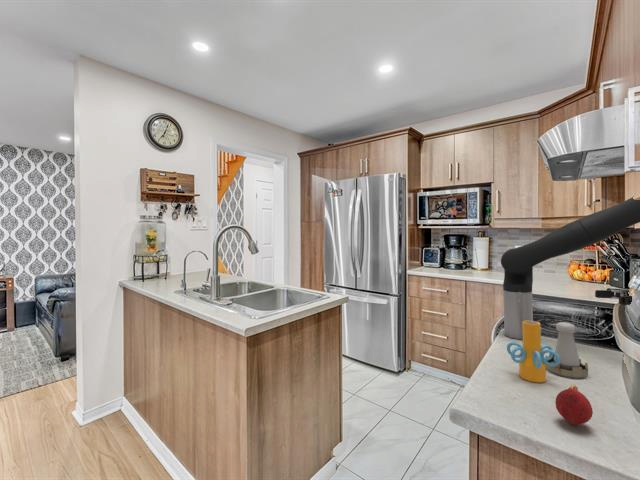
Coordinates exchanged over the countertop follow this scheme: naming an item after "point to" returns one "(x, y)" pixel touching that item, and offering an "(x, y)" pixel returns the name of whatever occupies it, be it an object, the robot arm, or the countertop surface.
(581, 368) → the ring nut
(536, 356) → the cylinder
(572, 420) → the red oval fruit
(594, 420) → the countertop surface
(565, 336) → the salt shaker
